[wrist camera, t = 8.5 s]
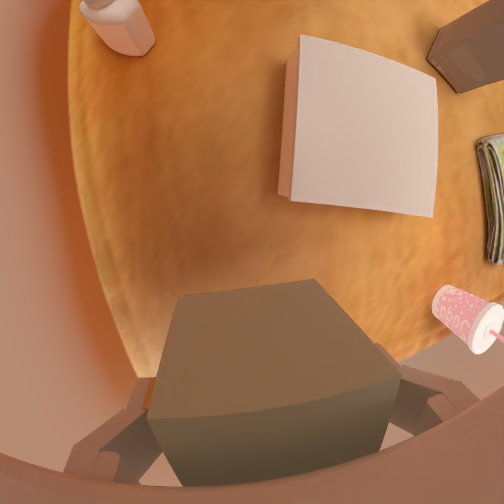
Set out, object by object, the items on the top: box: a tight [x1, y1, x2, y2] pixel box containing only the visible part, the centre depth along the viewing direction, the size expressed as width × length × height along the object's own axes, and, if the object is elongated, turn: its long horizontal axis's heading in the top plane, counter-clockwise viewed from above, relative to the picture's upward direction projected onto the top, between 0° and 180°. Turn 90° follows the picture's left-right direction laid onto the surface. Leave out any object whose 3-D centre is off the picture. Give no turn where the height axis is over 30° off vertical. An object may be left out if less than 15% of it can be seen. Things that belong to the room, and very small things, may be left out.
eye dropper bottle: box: [79, 0, 156, 56], centre depth 15 cm, size 4×6×12 cm
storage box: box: [278, 34, 438, 218], centre depth 23 cm, size 13×13×6 cm
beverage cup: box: [432, 285, 504, 354], centre depth 25 cm, size 6×6×14 cm
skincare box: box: [427, 0, 504, 94], centre depth 16 cm, size 8×7×16 cm
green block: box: [146, 279, 402, 487], centre depth 8 cm, size 5×5×6 cm
